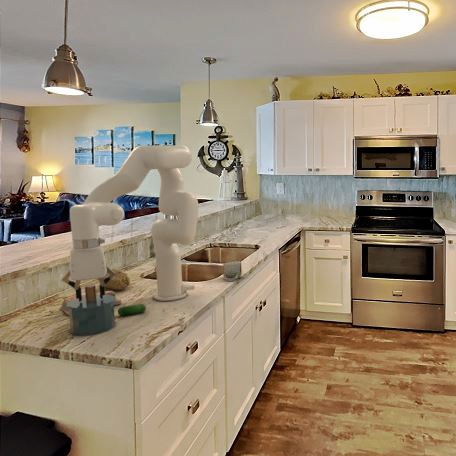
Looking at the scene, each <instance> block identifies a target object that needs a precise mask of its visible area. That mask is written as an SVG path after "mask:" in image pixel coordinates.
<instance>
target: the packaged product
mask: <svg viewBox="0 0 456 456" xmlns="http://www.w3.org/2000/svg"><path fill="white" fill-rule="evenodd" d="M99 294H100V291H99V292H96V295H99ZM105 295H112V296H114V297H115V301H114V302H113V303H114V306H117V305H121V304H122V300H121V299H119V298H117V297H116V292H114V291H113V290H105ZM84 296H86V295H85V294H82V297H84ZM73 299H76V296H72V297H68V298H67V297H66V298H64V299H63V301H62V303H61V306H60V309H61V310H62V311H63V312H64V313H65V314H66V315H68V316H69V308H68V307H67V303H68V302H69V301H71V300H73Z"/></svg>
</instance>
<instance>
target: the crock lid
mask: <svg viewBox="0 0 456 456" xmlns="http://www.w3.org/2000/svg"><path fill="white" fill-rule="evenodd" d="M96 287H97V286H96V284H86V285H85V286H84V295H86V296H84V297H82V301H81V302H79V298H78V299H73V300H71V301H69V302H68V303H67V307H68V308H69V309H75V310H85V309H94V308H99V307H103V306H106V305H109V304H111V303H113V302H114V301H115V298H116V296H115V297H114V296H112V295H103V299H100V294H99V295H96V293H97V289H96Z"/></svg>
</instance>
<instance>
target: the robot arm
mask: <svg viewBox="0 0 456 456" xmlns="http://www.w3.org/2000/svg"><path fill="white" fill-rule="evenodd" d="M192 159H193V155H192V151H191V150H190V149H189V147H187V146H185V145H162V144H161V145H160V144H159V145H157V144H155V145H154V144H153V145H139V146H136V147H135V148H133V150H132V151H131V152H130V153H129V155H128V156H127V157H126V159H125V161H124V162H123V163H122V165H121V166H120V168H118V169H117V171H116V173H115V174H114V175H112V176H111V177H109V178H108V179H106V180H104V181H103V182H102V183H100V184H99V185H97V186H96V187H95V188H94V189H93V190H92V191H91V192H90V193H89V194H88V196H87V197H86V198H85V199H84V202H83V203H82V204H74V205H71V207H70V208H69V218H70V219H69V220H70V229H71V230H70V231H71V241H72V248H70V251H69V269H68V271H67V272H66V273H65V274H64V275H63V277H62V278H61V281H62V282H63V283H65V284H67V285H68V286H70V287H71V288H73V289H74V291H75V297H76V299H78V298H79V302H81V301H82V296H83V293H82V287H81V281H87V280H98V283H99V286H98V287H99V292H100V299H103V295H105V291H106V289H105V288H106V287H104V286H105V285H106V284H107V283H108V282H109V280H110V279H111V278H113V277H114V276H115V272H114V271H112V269H111V267H109V266H108V265H107V258H106V253H105V249H104V247H103V245H102V244H105V243H106V240H105V238H101V237H100V226H116V225H118V224H120V223H121V222H122V221H123V220H124V218H125V211H124V208H123V207H122V206H121V205H120V204H118V203H115V202H112V201H114V200H115V199H117V198H119V197H122V196H124V195H127V194H131V193H132V192H134V191H136V190H138V189H139V188H140V186H141V185H142V184H143V182H144V180H145V179H146V177H147V176H148V174H149V173H150V171H151V170H157V172H158V173H159V177H160V186H159V187H160V188H159V197H158V211H159V212H160V213H161V214H162V215H165V216H171V217H172V216H173V217H175V216H176V217H178V219H177V218H159V219H157V220H155V221H154V222H153V224H152V225H151V229H150V234H151V239H152V242H153V246H154V256H155V270H156V271H155V272H156V287H157V290H156V291H157V292H155V293H154V294H153V299H154V300H156V301H161V302H167V301H168V302H169V301H176V300H177V301H178V300H180V299H183V298H185V297H187V295H188V294H187V292H188V291H193V290H195V287H196V286H195V285H194V284H190V283H189V284H184V283H183V273H182V271H183V270H182V254H181V253H182V252H181V250H180V246H179V245H189V244H191V243H192V242H193V241H194V239H195V237H196V234H197V225H198V217H199V208H200V205H199V201H198V198H197V197H196V195H195V194H194V193H192V192H189V191H184V176H183V174H182V173H181V171H180V169H184V168H187V167H188V166H190V165H191V163H192ZM107 272H108V273H109V275H108V276H107V277H106V278H105V279H103V277H105V276H106V274H107Z"/></svg>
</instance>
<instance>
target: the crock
mask: <svg viewBox="0 0 456 456" xmlns="http://www.w3.org/2000/svg"><path fill="white" fill-rule="evenodd" d="M68 317H69V326H70V333H71V334H73V335H74V336H75V335H76V336H91V335H97V334H102V333H105V332H107V331H110V330H112V329H113V328H115V326H116V319H115V318H116V317H115V305H114V303H111V304H109V305H106V306H103V307H99V308H94V309H85V310H75V309H69V315H68Z"/></svg>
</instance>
